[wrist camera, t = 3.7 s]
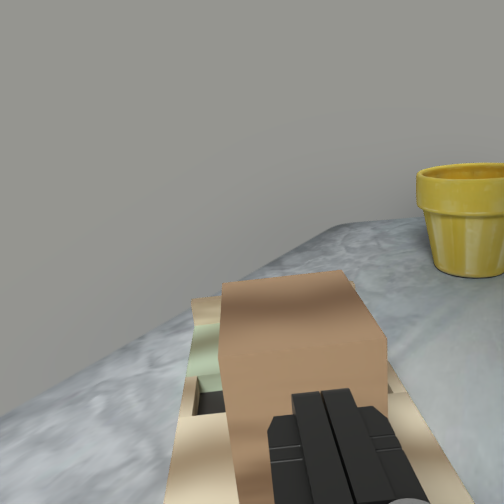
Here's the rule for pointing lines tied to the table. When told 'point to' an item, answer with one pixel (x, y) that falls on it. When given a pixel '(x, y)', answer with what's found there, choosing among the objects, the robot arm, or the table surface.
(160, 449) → the table surface
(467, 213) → the plant pot
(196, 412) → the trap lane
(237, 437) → the walnut block
